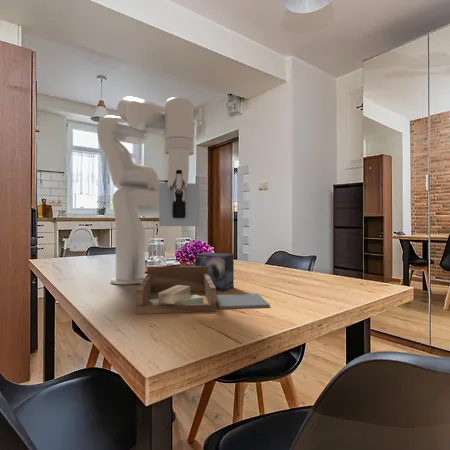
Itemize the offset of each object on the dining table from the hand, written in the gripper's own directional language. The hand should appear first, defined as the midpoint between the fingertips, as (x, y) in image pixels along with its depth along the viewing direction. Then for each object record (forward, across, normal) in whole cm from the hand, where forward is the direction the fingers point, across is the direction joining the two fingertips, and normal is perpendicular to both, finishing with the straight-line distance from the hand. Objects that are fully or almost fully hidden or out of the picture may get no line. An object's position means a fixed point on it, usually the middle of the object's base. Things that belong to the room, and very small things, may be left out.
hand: (179, 217), depth 85 cm
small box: (+21, -13, +10) cm, 27 cm away
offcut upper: (+19, +9, -1) cm, 21 cm away
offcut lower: (+22, +9, -1) cm, 23 cm away
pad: (+21, +6, +15) cm, 27 cm away
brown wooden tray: (+21, +1, 0) cm, 21 cm away
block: (+2, 0, 0) cm, 2 cm away
